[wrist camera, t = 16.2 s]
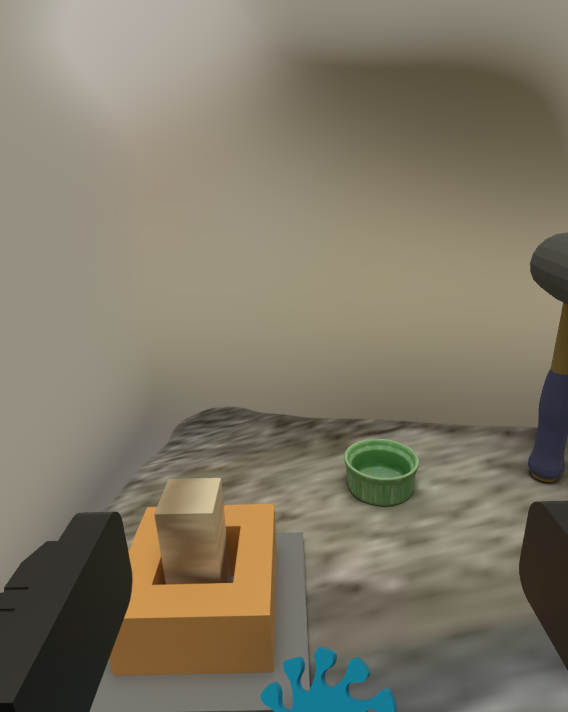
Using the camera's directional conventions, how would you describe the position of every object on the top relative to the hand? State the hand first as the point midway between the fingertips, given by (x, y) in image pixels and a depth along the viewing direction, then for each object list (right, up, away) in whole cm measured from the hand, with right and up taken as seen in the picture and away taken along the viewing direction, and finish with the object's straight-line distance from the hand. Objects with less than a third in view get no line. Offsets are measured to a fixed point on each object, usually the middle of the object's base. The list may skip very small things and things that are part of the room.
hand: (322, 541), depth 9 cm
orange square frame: (-8, -20, +33) cm, 40 cm away
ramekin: (+11, -13, +50) cm, 53 cm away
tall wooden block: (-8, -19, +33) cm, 39 cm away
